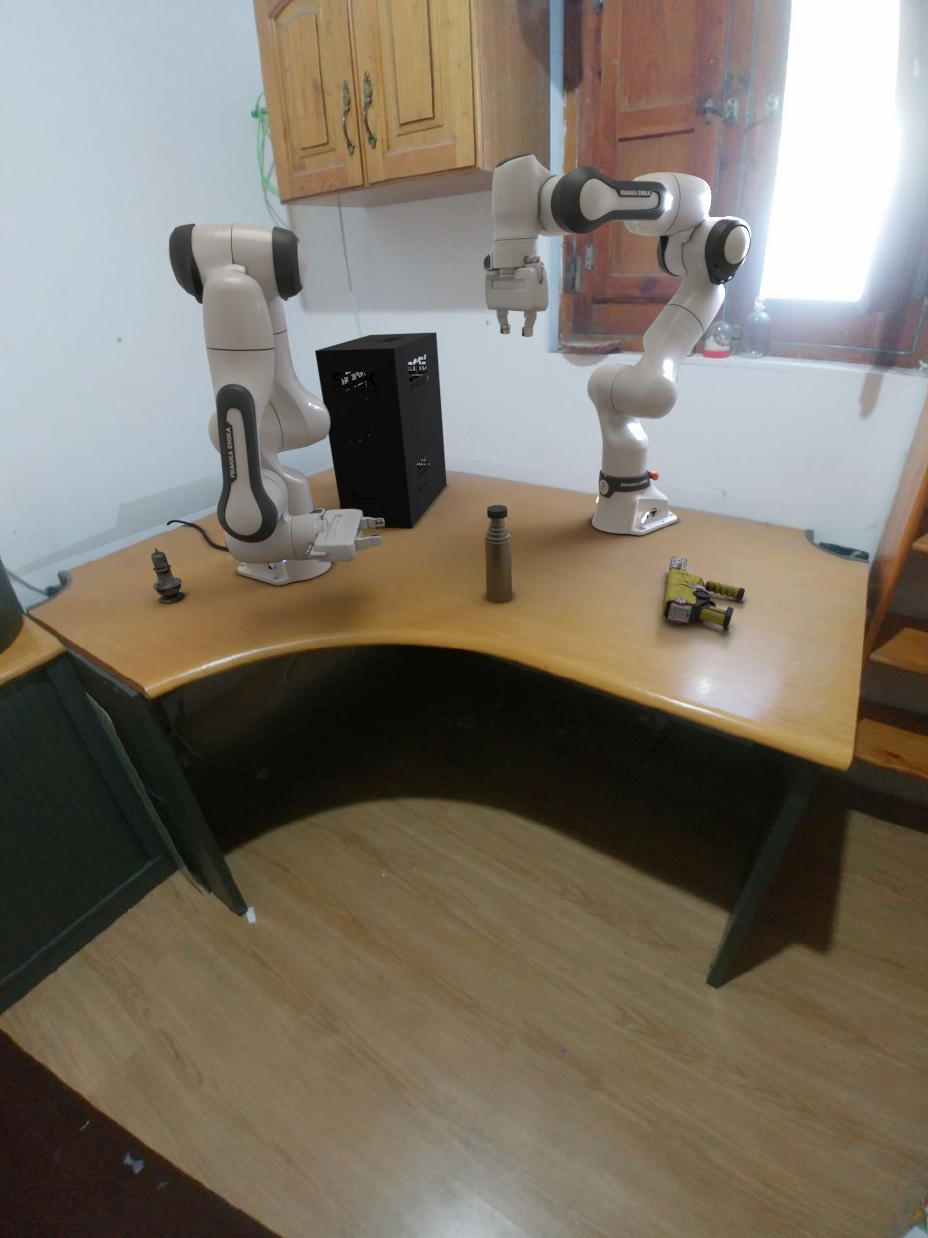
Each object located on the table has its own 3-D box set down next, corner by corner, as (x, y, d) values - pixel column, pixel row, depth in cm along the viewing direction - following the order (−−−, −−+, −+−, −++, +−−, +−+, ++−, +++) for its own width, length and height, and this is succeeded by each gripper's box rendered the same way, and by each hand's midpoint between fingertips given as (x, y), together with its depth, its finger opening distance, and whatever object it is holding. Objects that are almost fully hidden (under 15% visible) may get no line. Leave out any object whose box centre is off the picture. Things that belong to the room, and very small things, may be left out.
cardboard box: (411, 527, 164) (393, 348, 142) (343, 525, 169) (314, 350, 146) (446, 484, 196) (436, 332, 173) (387, 483, 200) (370, 334, 178)
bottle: (515, 593, 129) (515, 507, 119) (505, 604, 125) (504, 516, 115) (493, 589, 131) (490, 504, 121) (482, 599, 127) (479, 513, 117)
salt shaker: (175, 604, 132) (159, 554, 126) (152, 603, 133) (134, 553, 127) (191, 592, 137) (176, 543, 131) (168, 591, 138) (152, 542, 132)
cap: (510, 513, 119) (510, 505, 119) (502, 520, 116) (502, 512, 116) (492, 511, 121) (492, 503, 120) (483, 517, 118) (483, 510, 117)
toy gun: (744, 566, 127) (671, 553, 131) (753, 616, 107) (666, 600, 111) (738, 586, 129) (666, 573, 133) (745, 639, 109) (660, 622, 113)
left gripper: (299, 541, 108) (376, 534, 108) (317, 505, 126) (383, 500, 126) (306, 573, 111) (381, 566, 111) (323, 534, 129) (387, 528, 129)
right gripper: (557, 254, 111) (556, 336, 118) (505, 258, 127) (506, 331, 134) (528, 255, 109) (527, 339, 116) (478, 260, 125) (481, 333, 132)
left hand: (382, 531), depth 119 cm, fingers open, 8 cm apart
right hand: (516, 335), depth 125 cm, fingers open, 8 cm apart
